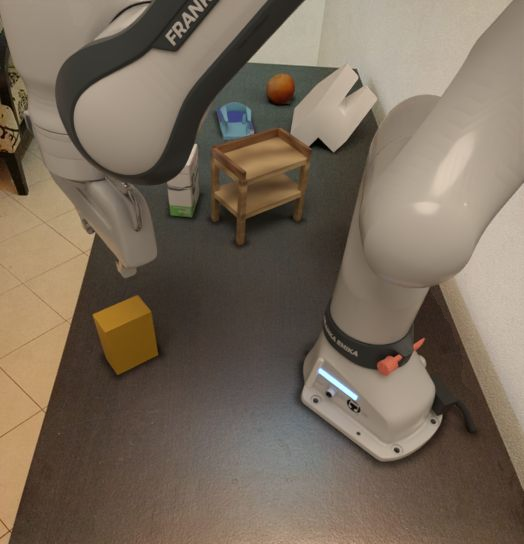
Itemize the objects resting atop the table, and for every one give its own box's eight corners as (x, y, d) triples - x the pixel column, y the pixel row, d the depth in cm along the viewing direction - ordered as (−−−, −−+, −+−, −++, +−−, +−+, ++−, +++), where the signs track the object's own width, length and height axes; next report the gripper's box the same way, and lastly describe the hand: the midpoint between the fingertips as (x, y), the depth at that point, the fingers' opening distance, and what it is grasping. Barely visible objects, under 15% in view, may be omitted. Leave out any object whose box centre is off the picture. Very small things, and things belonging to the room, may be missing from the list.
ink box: (192, 218, 96) (190, 165, 87) (169, 215, 96) (163, 162, 87) (199, 195, 102) (198, 142, 93) (177, 192, 102) (173, 139, 93)
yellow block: (158, 355, 74) (151, 311, 66) (117, 375, 71) (105, 332, 63) (146, 338, 76) (137, 294, 68) (105, 358, 73) (92, 314, 65)
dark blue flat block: (254, 129, 119) (247, 107, 126) (222, 129, 117) (216, 107, 125) (254, 135, 120) (246, 112, 127) (222, 135, 118) (216, 113, 126)
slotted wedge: (321, 163, 120) (378, 111, 109) (290, 133, 115) (346, 75, 104) (323, 137, 129) (376, 86, 117) (294, 108, 124) (346, 52, 112)
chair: (221, 168, 109) (221, 116, 100) (216, 150, 114) (216, 98, 105) (253, 167, 110) (257, 115, 101) (247, 149, 115) (250, 98, 106)
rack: (301, 219, 99) (312, 149, 87) (239, 245, 92) (242, 172, 80) (271, 196, 103) (279, 126, 91) (211, 219, 97) (210, 146, 85)
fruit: (301, 103, 130) (289, 75, 124) (275, 116, 133) (262, 89, 127) (300, 91, 135) (288, 63, 129) (275, 103, 138) (263, 77, 132)
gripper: (166, 184, 43) (175, 291, 54) (73, 94, 53) (96, 201, 63) (102, 204, 41) (125, 313, 51) (16, 106, 50) (51, 215, 61)
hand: (109, 250), depth 57 cm, fingers open, 8 cm apart
